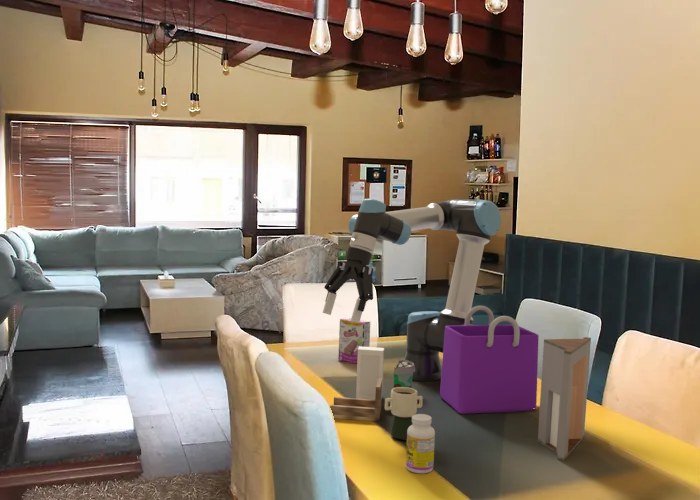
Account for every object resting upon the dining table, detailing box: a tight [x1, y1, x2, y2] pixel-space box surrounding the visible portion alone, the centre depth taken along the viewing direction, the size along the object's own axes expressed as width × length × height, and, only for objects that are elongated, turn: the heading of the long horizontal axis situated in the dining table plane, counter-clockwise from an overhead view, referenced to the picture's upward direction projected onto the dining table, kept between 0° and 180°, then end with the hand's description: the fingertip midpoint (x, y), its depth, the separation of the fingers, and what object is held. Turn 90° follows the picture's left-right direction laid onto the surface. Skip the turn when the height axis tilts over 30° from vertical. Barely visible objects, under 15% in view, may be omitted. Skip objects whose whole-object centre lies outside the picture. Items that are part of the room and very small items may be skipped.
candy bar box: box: [337, 317, 371, 365], centre depth 265 cm, size 11×5×16 cm, turn 58°
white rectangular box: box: [355, 346, 385, 401], centre depth 221 cm, size 8×4×16 cm, turn 83°
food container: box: [393, 358, 415, 388], centre depth 227 cm, size 12×6×10 cm, turn 168°
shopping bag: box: [439, 305, 539, 415], centre depth 218 cm, size 28×22×30 cm
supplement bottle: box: [405, 413, 436, 475], centre depth 167 cm, size 7×7×13 cm
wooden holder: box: [329, 379, 383, 422], centre depth 205 cm, size 14×9×10 cm, turn 83°
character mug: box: [384, 387, 424, 441], centre depth 187 cm, size 11×7×13 cm, turn 108°
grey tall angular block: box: [537, 336, 592, 462], centre depth 186 cm, size 21×10×28 cm, turn 148°
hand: (340, 317), depth 207 cm, fingers open, 13 cm apart
